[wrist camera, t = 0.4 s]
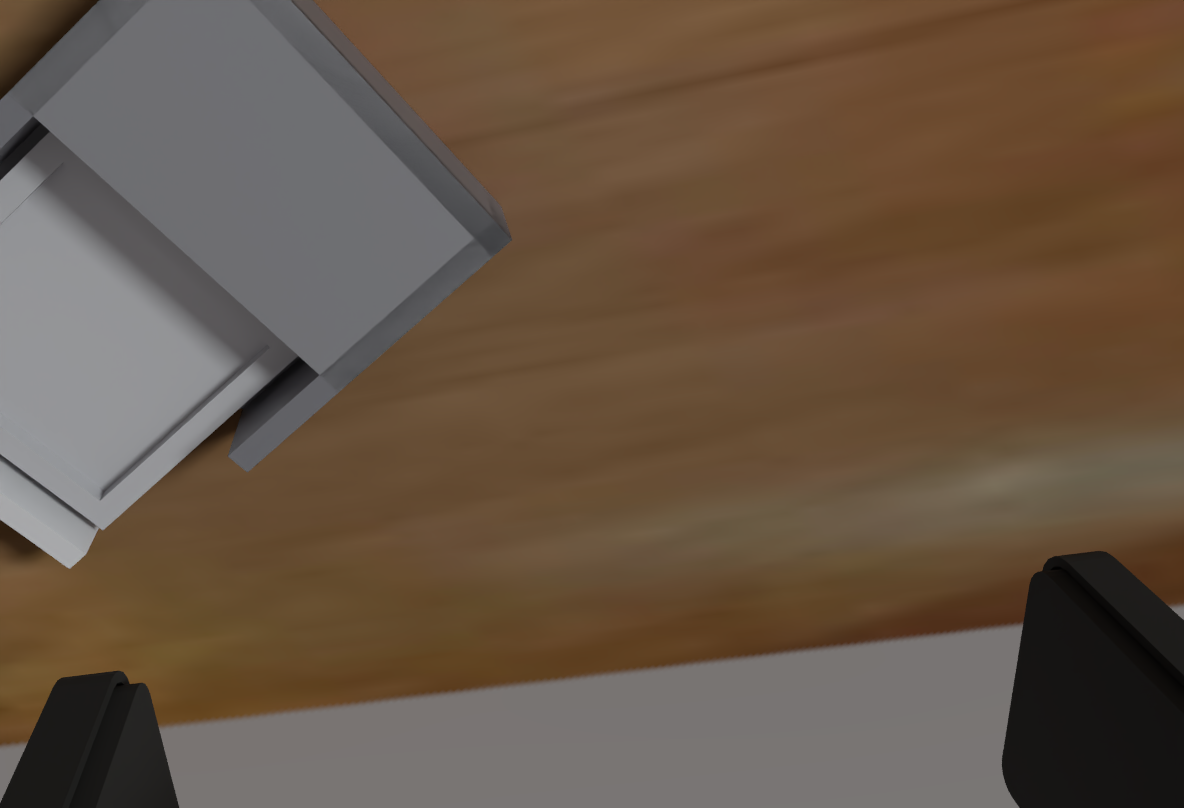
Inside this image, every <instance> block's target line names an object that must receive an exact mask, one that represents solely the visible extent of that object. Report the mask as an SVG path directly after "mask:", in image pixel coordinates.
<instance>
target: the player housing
mask: <svg viewBox="0 0 1184 808" xmlns="http://www.w3.org/2000/svg"><path fill="white" fill-rule="evenodd" d="M49 132H51V133H52V134H54V135H55V136H56V137H57V138H58V139H59V140H60V141H61V142H62V143H64V144H65V145H66V146H67V147H68V148H69V149H70V150H71V151H72V152H74V153H75V154H76V155H77V156H78V157H79V158H80V159H81V160H82V161H83V162H85V163H86V164H87V165H88V166H89V167H90V168H91V169H92V170H93V171H95V172H96V173H97V174H98V175H99V176H100V177H101V178H102V179H103V180H104V181H106V182H107V183H108V184H109V185H110V186H111V187H112V188H113V189H114V190H116V191H117V192H118V193H119V194H120V195H121V196H122V197H123V198H124V199H125V200H127V201H128V202H129V203H130V204H131V205H132V206H133V207H134V208H135V209H137V210H138V211H139V212H140V213H141V214H142V215H143V216H144V217H145V218H147V219H148V220H149V221H150V222H151V223H152V224H153V225H154V226H155V227H156V228H158V229H159V230H160V231H161V232H162V233H163V234H164V235H165V236H166V237H168V238H169V239H170V240H171V241H172V242H173V243H174V244H175V245H176V246H177V247H179V248H180V249H181V250H182V251H183V252H184V253H185V254H186V255H187V256H189V257H190V258H191V259H192V260H193V261H194V262H195V263H196V264H197V265H198V266H200V267H201V268H202V269H203V270H204V271H205V272H206V273H207V274H208V275H210V276H211V277H212V278H213V279H214V280H215V281H216V282H217V283H218V284H220V285H221V286H222V287H223V288H224V289H225V290H226V291H227V292H228V293H229V294H231V295H232V296H233V297H234V298H235V299H236V300H237V301H238V302H239V303H241V304H242V305H243V306H244V307H245V308H246V309H247V310H248V311H249V312H250V313H252V314H253V315H254V316H255V317H256V318H257V319H258V320H259V321H260V322H262V323H263V324H264V325H265V326H266V327H267V328H268V329H269V330H270V331H272V332H273V333H274V334H275V335H276V336H277V337H278V338H279V339H280V340H281V341H283V342H284V343H285V344H286V345H287V346H288V347H289V348H290V349H291V350H293V351H294V352H295V353H296V354H297V355H298V357H296V358H295V359H294V360H293V361H292V362H291V363H290V364H289V365H287V366H286V367H285V368H284V369H283V370H282V371H281V372H280V373H279V374H277V375H276V376H275V377H274V378H273V379H272V380H271V381H270V382H268V383H267V384H266V385H265V386H264V387H263V388H262V389H261V390H260V391H258V392H257V393H256V394H255V395H254V396H253V397H252V398H251V399H249V400H248V401H247V402H246V403H245V404H244V405H243V406H242V407H241V408H242V409H243V410H242V414H241V417H240V420H239V423H238V426H237V429H236V432H235V436H234V439H233V442H232V445H231V448H230V451H229V454H228V457H229V458H231V459H232V460H233V461H234V462H235V463H237V464H238V465H239V466H240V467H242V468H243V469H244V470H245V471H246V472H248V471H250V470H251V469H252V468H253V467H254V466H255V465H256V464H258V463H259V462H260V461H261V460H262V459H263V458H264V457H265V456H267V455H268V454H269V453H270V452H271V451H272V450H273V449H275V448H276V447H277V446H278V445H279V444H280V443H281V442H283V441H284V440H285V439H286V438H287V437H288V436H289V435H291V434H292V433H293V432H294V431H295V430H296V429H297V428H298V427H300V426H301V425H302V424H303V423H304V422H305V421H306V420H308V419H309V418H310V417H311V416H312V415H313V414H314V413H316V412H317V411H318V410H319V409H320V408H321V407H322V406H324V405H325V404H326V403H327V402H328V401H329V400H330V399H332V398H333V397H334V396H335V395H336V394H337V393H338V392H339V391H341V390H342V389H343V388H344V387H345V386H346V385H347V384H349V383H350V382H351V381H352V380H353V379H354V378H355V377H357V376H358V375H359V374H360V373H361V372H362V371H363V370H365V369H366V368H367V367H368V366H369V365H370V364H371V363H372V362H374V361H375V360H376V359H377V358H378V357H379V356H380V355H382V354H383V353H384V352H385V351H386V350H387V349H388V348H390V347H391V346H392V345H393V344H394V343H395V342H396V341H398V340H399V339H400V338H401V337H402V336H403V335H404V334H405V333H407V332H408V331H409V330H410V329H411V328H412V327H413V326H415V325H416V324H417V323H418V322H419V321H420V320H421V319H423V318H424V317H425V316H426V315H427V314H428V313H429V312H431V311H432V310H433V309H434V308H435V307H436V306H437V305H438V304H440V303H441V302H442V301H443V300H444V299H445V298H446V297H448V296H449V295H450V294H451V293H452V292H453V291H454V290H456V289H457V288H458V287H459V286H460V285H461V284H462V283H464V282H465V281H466V280H467V279H468V278H469V277H470V276H471V275H473V274H474V273H475V272H476V271H477V270H478V269H479V268H481V267H482V266H483V265H484V264H485V263H486V262H487V261H489V260H490V259H491V258H492V257H493V256H494V255H495V254H497V253H498V252H499V251H500V250H501V249H502V248H503V247H504V246H506V245H507V244H508V243H509V242H510V241H511V240H512V239H511V235H510V232H509V229H508V226H507V223H506V220H505V217H504V214H503V211H502V207H501V206H500V205H499V203H498V202H497V201H496V200H495V199H494V198H493V197H492V196H491V195H490V194H489V193H488V191H487V190H486V189H485V188H484V187H483V186H482V185H481V184H480V183H479V182H478V181H477V179H476V178H475V177H474V176H473V175H472V174H471V173H470V172H469V171H468V170H467V168H466V167H465V166H464V165H463V164H462V163H461V162H460V161H459V160H458V159H457V158H456V156H455V155H454V154H453V153H452V152H451V151H450V150H449V149H448V148H447V147H446V145H445V144H444V143H443V142H442V141H441V140H440V139H439V138H438V137H437V136H436V135H435V133H434V132H433V131H432V130H431V129H430V128H429V127H428V126H427V125H426V124H425V123H424V121H423V120H422V119H421V118H420V117H419V116H418V115H417V114H416V113H415V112H414V110H413V109H412V108H411V107H410V106H409V105H408V104H407V103H406V102H405V101H404V100H403V98H402V97H401V96H400V95H399V94H398V93H397V92H396V91H395V90H394V89H393V88H392V86H391V85H390V84H389V83H388V82H387V81H386V80H385V79H384V78H383V77H382V75H381V74H380V73H379V72H378V71H377V70H376V69H375V68H374V67H373V66H372V65H371V63H370V62H369V61H368V60H367V59H366V58H365V57H364V56H363V55H362V54H361V52H360V51H359V50H358V49H357V48H356V47H355V46H354V45H353V44H352V43H351V42H350V40H349V39H348V38H347V37H346V36H345V35H344V34H343V33H342V32H341V31H340V30H339V28H338V27H337V26H336V25H335V24H334V23H333V22H332V21H331V20H330V19H329V17H328V16H327V15H326V14H325V13H324V12H323V11H322V10H321V9H320V8H319V7H318V5H317V4H316V3H315V2H314V1H313V0H99V1H98V2H97V3H96V4H95V5H94V6H93V7H92V8H91V9H90V10H89V11H88V12H87V13H86V14H85V15H84V16H83V17H82V18H81V19H80V20H79V21H78V22H77V23H76V24H75V25H74V26H73V27H72V28H71V29H70V30H69V31H68V32H67V33H66V34H65V35H64V36H63V37H62V38H61V39H60V40H59V41H58V42H57V43H56V45H55V46H54V47H53V48H52V49H51V50H50V51H49V52H48V53H47V54H46V55H45V56H44V57H43V58H42V59H41V60H40V61H39V62H38V63H37V64H36V65H35V66H34V67H33V68H32V69H31V70H30V71H29V72H28V73H27V74H26V75H25V76H24V77H23V78H22V79H21V80H20V81H19V82H18V83H17V84H16V85H15V86H14V87H13V88H12V89H11V90H10V91H9V92H8V93H7V94H6V95H5V96H4V97H3V98H2V99H1V100H0V180H1V179H2V178H3V177H4V176H5V175H6V174H7V173H9V172H10V171H11V170H12V169H13V168H14V167H15V166H16V165H17V164H18V163H19V162H20V161H21V160H22V159H23V158H24V157H25V156H26V155H27V154H28V153H29V152H30V151H31V150H32V149H33V148H34V147H35V146H36V145H37V144H38V143H39V142H40V141H41V140H42V139H43V138H44V137H45V136H46V135H47V134H48V133H49Z"/></svg>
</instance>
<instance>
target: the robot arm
mask: <svg viewBox="0 0 1184 808" xmlns="http://www.w3.org/2000/svg"><path fill="white" fill-rule="evenodd" d="M1002 770H1003V776H1004V779H1005V783H1006V785H1007V788H1008V791H1009V792H1010V794H1011V796H1012V797H1013V799H1014V800H1015V802H1016V803H1017V805H1018V806H1019V807H1020V808H1184V620H1183V619H1182V618H1181V617H1179V616H1178V615H1177V614H1176V613H1175V612H1174V611H1173V610H1172V609H1171V608H1170V607H1168V606H1167V605H1166V604H1165V603H1164V602H1163V601H1162V600H1161V599H1160V598H1158V597H1157V596H1156V595H1155V594H1154V593H1153V592H1152V591H1151V590H1150V589H1149V588H1147V587H1146V586H1145V585H1144V584H1143V583H1142V582H1141V581H1140V580H1139V579H1137V578H1136V577H1135V576H1134V575H1133V574H1132V573H1131V572H1130V571H1129V570H1127V569H1126V568H1125V567H1124V566H1123V565H1122V564H1121V563H1120V562H1119V561H1117V560H1116V559H1115V558H1114V557H1113V556H1111V555H1110V554H1108V553H1107V552H1102V551H1095V552H1087V553H1078V554H1070V555H1062V556H1054V557H1052V558H1050V559H1048V560H1047V562H1046V563H1045V565H1044V567H1043V570H1042V571H1041V572H1037V573H1035V574H1034V575H1033V577H1032V578H1031V582H1030V585H1029V592H1028V598H1027V604H1026V611H1025V617H1024V623H1023V630H1022V636H1021V643H1020V649H1019V655H1018V662H1017V669H1016V674H1015V680H1014V687H1013V693H1012V699H1011V706H1010V712H1009V718H1008V725H1007V731H1006V737H1005V744H1004V750H1003V756H1002ZM0 808H179V805H178V801H177V798H176V794H175V790H174V786H173V782H172V779H171V775H170V770H169V766H168V762H167V758H166V755H165V751H164V747H163V743H162V739H161V735H160V731H159V727H158V723H157V719H156V716H155V712H154V708H153V704H152V700H151V696H150V693H149V690H148V688H147V686H146V685H145V684H144V683H137V684H129V681H128V678H127V677H126V675H125V674H124V672H121V671H113V672H105V673H97V674H88V675H80V676H72V677H64V678H61V679H59V680H58V681H57V682H56V684H55V685H54V687H53V689H52V691H51V693H50V695H49V698H48V700H47V702H46V704H45V706H44V709H43V711H42V713H41V715H40V717H39V720H38V722H37V724H36V726H35V728H34V730H33V733H32V735H31V737H30V739H29V741H28V744H27V746H26V748H25V751H24V752H23V755H22V757H21V759H20V761H19V763H18V765H17V768H16V770H15V772H14V774H13V776H12V779H11V781H10V783H9V785H8V787H7V790H6V792H5V794H4V796H3V798H2V801H1V803H0Z"/></svg>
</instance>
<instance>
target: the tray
mask: <svg viewBox="0 0 1184 808" xmlns="http://www.w3.org/2000/svg"><path fill="white" fill-rule="evenodd" d="M296 357H298V355H297V354H296V353H295V352H294V351H293V350H291V349H290V348H289V347H288V346H287V345H286V344H285V343H284V342H283V341H281V340H280V339H279V338H278V337H277V336H276V335H275V334H274V333H273V332H272V331H270V330H269V329H268V328H267V327H266V326H265V325H264V324H263V323H262V322H260V321H259V320H258V319H257V318H256V317H255V316H254V315H253V314H252V313H250V312H249V311H248V310H247V309H246V308H245V307H244V306H243V305H242V304H241V303H239V302H238V301H237V300H236V299H235V298H234V297H233V296H232V295H231V294H229V293H228V292H227V291H226V290H225V289H224V288H223V287H222V286H221V285H220V284H218V283H217V282H216V281H215V280H214V279H213V278H212V277H211V276H210V275H208V274H207V273H206V272H205V271H204V270H203V269H202V268H201V267H200V266H198V265H197V264H196V263H195V262H194V261H193V260H192V259H191V258H190V257H189V256H187V255H186V254H185V253H184V252H183V251H182V250H181V249H180V248H179V247H177V246H176V245H175V244H174V243H173V242H172V241H171V240H170V239H169V238H168V237H166V236H165V235H164V234H163V233H162V232H161V231H160V230H159V229H158V228H156V227H155V226H154V225H153V224H152V223H151V222H150V221H149V220H148V219H147V218H145V217H144V216H143V215H142V214H141V213H140V212H139V211H138V210H137V209H135V208H134V207H133V206H132V205H131V204H130V203H129V202H128V201H127V200H125V199H124V198H123V197H122V196H121V195H120V194H119V193H118V192H117V191H116V190H114V189H113V188H112V187H111V186H110V185H109V184H108V183H107V182H106V181H104V180H103V179H102V178H101V177H100V176H99V175H98V174H97V173H96V172H95V171H93V170H92V169H91V168H90V167H89V166H88V165H87V164H86V163H85V162H83V161H82V160H81V159H80V158H79V157H78V156H77V155H76V154H75V153H74V152H72V151H71V150H70V149H69V148H68V147H67V146H66V145H65V144H64V143H62V142H61V141H60V140H59V139H58V138H57V137H56V136H55V135H54V134H52V133H51V132H49V133H48V134H47V135H46V136H45V137H44V138H43V139H42V140H41V141H40V142H39V143H38V144H37V145H36V146H35V147H34V148H33V149H32V150H31V151H30V152H29V153H28V154H27V155H26V156H25V157H24V158H23V159H22V160H21V161H20V162H19V163H18V164H17V165H16V166H15V167H14V168H13V169H12V170H11V171H10V172H9V173H7V174H6V175H5V176H4V177H3V178H2V179H1V180H0V520H2V521H3V522H4V523H6V524H7V525H9V526H10V527H11V528H13V529H14V530H16V531H17V532H18V533H20V534H21V535H23V536H24V537H25V538H27V539H28V540H30V541H31V542H33V543H34V544H35V545H37V546H38V547H40V548H41V549H42V550H44V551H45V552H47V553H48V554H49V555H51V556H52V557H54V558H55V559H56V560H58V561H59V562H61V563H62V564H63V565H65V566H66V567H68V568H69V569H70V568H71V567H72V566H73V565H74V564H76V563H77V562H78V561H79V560H80V559H81V558H82V557H83V556H84V555H86V553H87V551H88V549H89V547H90V545H91V543H92V541H93V539H94V537H95V535H96V533H97V531H98V529H99V528H101V529H102V530H104V529H105V528H106V527H107V526H108V525H110V524H111V523H112V522H113V521H114V520H115V519H116V518H117V517H119V516H120V515H121V514H122V513H123V512H124V511H125V510H126V509H127V508H129V507H130V506H131V505H132V504H133V503H134V502H135V501H136V500H138V499H139V498H140V497H141V496H142V495H143V494H144V493H145V492H146V491H148V490H149V489H150V488H151V487H152V486H153V485H154V484H155V483H157V482H158V481H159V480H160V479H161V478H162V477H163V476H164V475H166V474H167V473H168V472H169V471H170V470H171V469H172V468H173V467H174V466H176V465H177V464H178V463H179V462H180V461H181V460H182V459H183V458H185V457H186V456H187V455H188V454H189V453H190V452H191V451H192V450H193V449H195V448H196V447H197V446H198V445H199V444H200V443H201V442H202V441H204V440H205V439H206V438H207V437H208V436H209V435H210V434H211V433H213V432H214V431H215V430H216V429H217V428H218V427H219V426H220V425H221V424H223V423H224V422H225V421H226V420H227V419H228V418H229V417H230V416H232V415H233V414H234V413H235V412H236V411H237V410H238V409H239V408H240V407H242V406H243V405H244V404H245V403H246V402H247V401H248V400H249V399H251V398H252V397H253V396H254V395H255V394H256V393H257V392H258V391H260V390H261V389H262V388H263V387H264V386H265V385H266V384H267V383H268V382H270V381H271V380H272V379H273V378H274V377H275V376H276V375H277V374H279V373H280V372H281V371H282V370H283V369H284V368H285V367H286V366H287V365H289V364H290V363H291V362H292V361H293V360H294V359H295V358H296Z"/></svg>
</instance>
